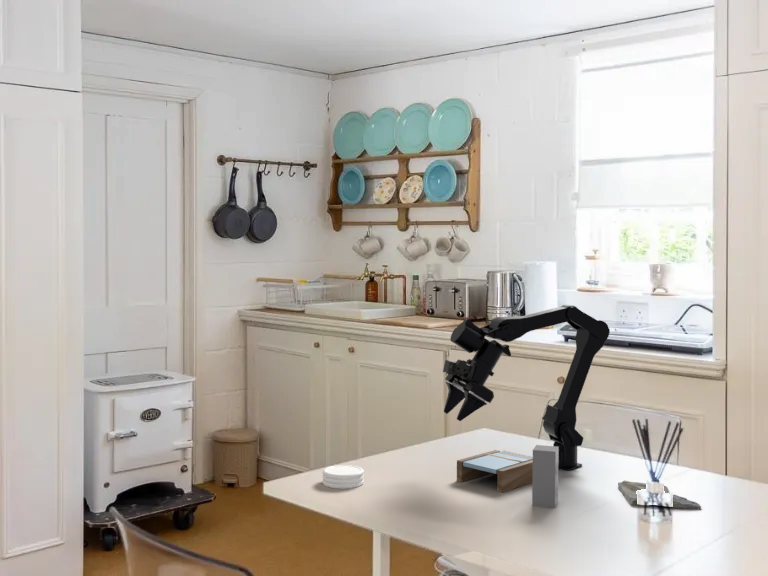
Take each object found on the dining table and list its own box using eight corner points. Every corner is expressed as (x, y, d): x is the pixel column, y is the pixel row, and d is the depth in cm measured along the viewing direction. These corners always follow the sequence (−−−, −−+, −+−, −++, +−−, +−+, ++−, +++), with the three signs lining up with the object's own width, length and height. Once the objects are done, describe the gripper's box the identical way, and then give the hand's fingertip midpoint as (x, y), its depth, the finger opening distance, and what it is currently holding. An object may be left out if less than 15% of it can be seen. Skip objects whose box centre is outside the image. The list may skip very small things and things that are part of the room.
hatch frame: (544, 478, 221) (544, 458, 221) (502, 492, 210) (502, 471, 210) (498, 468, 231) (499, 448, 231) (456, 480, 220) (456, 460, 219)
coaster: (335, 492, 211) (335, 477, 211) (315, 482, 219) (315, 468, 219) (371, 485, 216) (371, 471, 216) (350, 476, 225) (350, 462, 225)
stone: (535, 499, 204) (536, 444, 204) (557, 501, 203) (558, 446, 202) (532, 505, 200) (532, 450, 199) (554, 507, 198) (555, 451, 197)
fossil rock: (615, 488, 215) (615, 478, 215) (678, 489, 215) (678, 479, 214) (632, 510, 198) (632, 500, 198) (701, 512, 197) (701, 501, 197)
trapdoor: (536, 469, 222) (536, 456, 222) (495, 482, 211) (495, 468, 211) (503, 462, 229) (504, 449, 229) (463, 474, 218) (463, 461, 218)
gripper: (445, 341, 232) (414, 393, 230) (472, 350, 214) (438, 407, 212) (479, 363, 235) (448, 415, 233) (508, 374, 217) (475, 430, 215)
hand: (451, 416), depth 223 cm, fingers open, 9 cm apart
